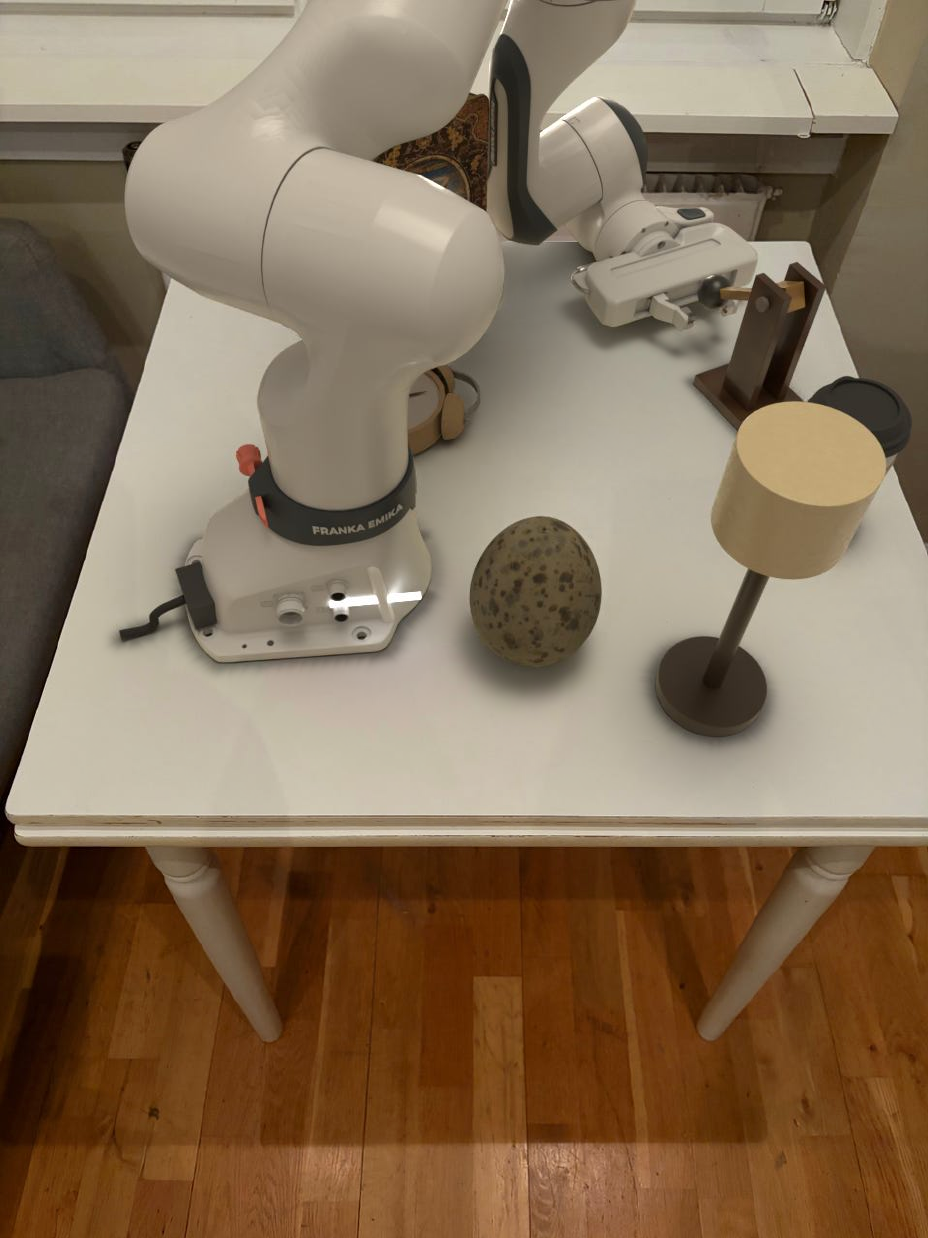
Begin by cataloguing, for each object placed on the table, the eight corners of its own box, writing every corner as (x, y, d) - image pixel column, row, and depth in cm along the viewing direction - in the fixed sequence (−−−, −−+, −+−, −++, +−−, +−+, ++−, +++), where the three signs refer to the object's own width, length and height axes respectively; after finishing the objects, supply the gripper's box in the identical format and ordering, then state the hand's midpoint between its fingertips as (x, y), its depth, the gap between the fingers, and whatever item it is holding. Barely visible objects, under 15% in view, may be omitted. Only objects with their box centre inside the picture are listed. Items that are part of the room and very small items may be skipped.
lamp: (681, 748, 77) (779, 519, 54) (638, 659, 82) (711, 415, 59) (780, 721, 79) (916, 488, 56) (732, 636, 84) (839, 389, 61)
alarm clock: (324, 374, 99) (461, 332, 99) (337, 408, 103) (468, 368, 103) (343, 449, 92) (489, 404, 92) (356, 482, 96) (496, 439, 97)
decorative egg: (557, 714, 79) (577, 607, 67) (445, 660, 82) (445, 548, 70) (610, 622, 84) (638, 508, 72) (503, 575, 87) (512, 458, 75)
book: (357, 364, 104) (335, 138, 84) (335, 336, 107) (307, 111, 87) (483, 316, 109) (491, 92, 89) (458, 291, 112) (460, 68, 92)
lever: (692, 312, 102) (688, 278, 101) (719, 303, 103) (716, 269, 102) (781, 321, 90) (779, 282, 89) (811, 311, 91) (809, 272, 90)
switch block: (693, 383, 103) (725, 262, 91) (752, 362, 105) (791, 242, 93) (748, 441, 98) (790, 321, 86) (809, 418, 100) (858, 298, 88)
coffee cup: (878, 528, 91) (945, 410, 79) (812, 569, 88) (871, 452, 76) (809, 471, 95) (862, 351, 83) (744, 508, 92) (789, 389, 80)
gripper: (566, 247, 104) (634, 318, 97) (719, 203, 110) (793, 267, 103) (561, 296, 109) (624, 367, 102) (706, 252, 115) (777, 316, 108)
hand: (710, 317), depth 103 cm, fingers open, 4 cm apart
